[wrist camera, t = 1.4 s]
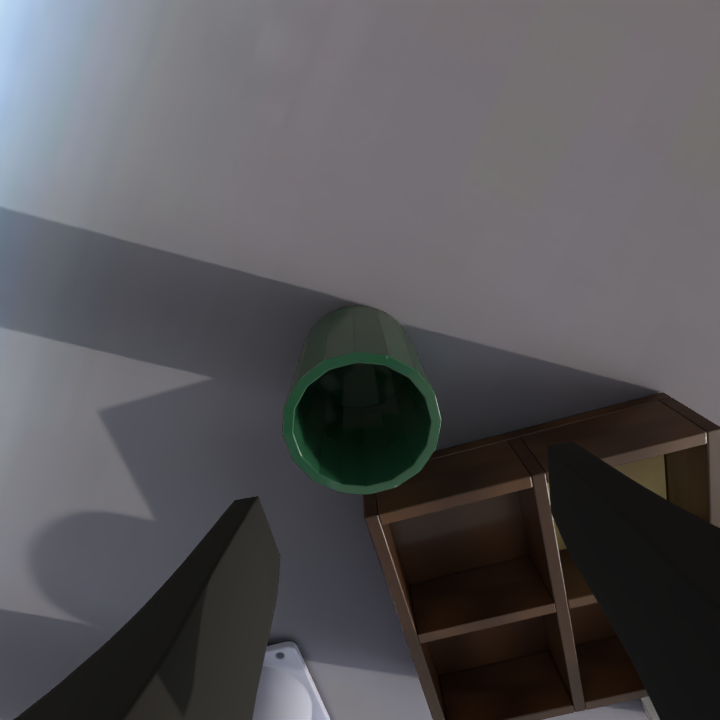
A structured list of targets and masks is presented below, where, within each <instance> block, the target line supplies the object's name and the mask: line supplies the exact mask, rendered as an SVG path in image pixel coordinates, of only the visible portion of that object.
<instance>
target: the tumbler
mask: <svg viewBox="0 0 720 720" xmlns="http://www.w3.org/2000/svg"><path fill="white" fill-rule="evenodd" d="M441 422H442V421H441V415H440V411H439V407H438V403H437V399H436V395H435V392H434V390H433V388H432V386H431V383H430V381H429V379H428V377H427V375H426V372H425V370H424V368H423V366H422V364H421V361H420V359H419V357H418V355H417V352H416V350H415V348H414V346H413V344H412V341H411V339H410V337H409V336H408V335H407V333H406V332H405V330H404V329H403V327H402V326H401V325H400V324H399V323H398V321H396V320H395V319H394V318H393V317H392V316H390V315H388V314H387V313H385V312H383V311H381V310H379V309H375V308H372V307H367V306H348V307H344V308H340V309H337V310H335V311H333V312H331V313H329V314H327V315H326V316H324V317H323V318H321V319H320V320H319V321H318V322H317V323H316V324H315V325H314V326H313V328H312V329H311V331H310V332H309V334H308V336H307V338H306V340H305V342H304V344H303V346H302V349H301V352H300V356H299V359H298V362H297V366H296V369H295V372H294V375H293V379H292V382H291V385H290V389H289V392H288V395H287V398H286V402H285V405H284V414H283V429H282V433H283V437H284V440H285V442H286V445H287V448H288V450H289V453H290V455H291V458H292V460H293V461H294V462H295V463H296V464H297V465H298V466H299V467H300V468H301V469H302V470H303V471H304V472H305V474H306V475H307V476H308V477H309V478H310V479H311V480H313V481H315V482H317V483H319V484H321V485H324V486H326V487H328V488H330V489H332V490H335V491H337V492H341V493H353V494H365V495H367V494H373V493H377V492H381V491H384V490H388V489H392V488H396V487H398V486H399V485H401V484H402V483H404V482H405V481H407V480H408V479H410V478H411V477H413V476H414V475H416V474H417V473H419V472H420V471H421V470H422V468H423V467H424V465H425V464H426V462H427V461H428V459H429V458H430V456H431V455H432V454H433V452H434V451H435V449H436V447H437V443H438V437H439V432H440V427H441Z"/></svg>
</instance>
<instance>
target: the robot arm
mask: <svg viewBox="0 0 720 720" xmlns="http://www.w3.org/2000/svg"><path fill="white" fill-rule="evenodd" d="M547 457H548V474H549V491H550V508H551V514H552V516H553V518H554V521H555V523H556V525H557V528H558V530H559V532H560V535H561V537H562V539H563V541H564V544H565V546H566V548H567V550H568V552H569V554H570V556H571V557H572V559H573V561H574V563H575V564H576V566H577V568H578V569H579V571H580V573H581V575H582V576H583V578H584V580H585V581H586V583H587V585H588V587H589V588H590V590H591V592H592V593H593V595H594V597H595V598H596V600H597V602H598V603H599V605H600V607H601V609H602V610H603V612H604V614H605V615H606V617H607V619H608V620H609V622H610V624H611V626H612V627H613V629H614V631H615V632H616V634H617V636H618V637H619V639H620V641H621V642H622V644H623V646H624V648H625V650H626V652H627V653H628V655H629V657H630V659H631V661H632V663H633V665H634V666H635V668H636V671H637V673H638V675H639V677H640V679H641V681H642V683H643V685H644V687H645V689H646V691H647V694H648V696H649V698H650V700H651V702H652V704H653V706H654V708H655V710H656V712H657V714H658V717H659V719H660V720H720V528H719V527H717V526H715V525H713V524H711V523H709V522H707V521H705V520H703V519H701V518H699V517H697V516H695V515H694V514H692V513H690V512H688V511H686V510H684V509H683V508H681V507H679V506H677V505H675V504H673V503H671V502H670V501H668V500H666V499H664V498H663V497H661V496H659V495H657V494H656V493H654V492H652V491H651V490H649V489H647V488H646V487H644V486H642V485H641V484H639V483H637V482H636V481H634V480H632V479H631V478H629V477H628V476H626V475H624V474H623V473H621V472H620V471H618V470H617V469H615V468H613V467H612V466H610V465H609V464H607V463H606V462H604V461H603V460H601V459H599V458H598V457H596V456H595V455H593V454H592V453H590V452H589V451H587V450H586V449H584V448H583V447H581V446H580V445H578V444H576V443H575V442H573V441H571V442H566V443H560V444H554V445H549V446H547ZM279 570H280V553H279V551H278V548H277V545H276V543H275V540H274V537H273V535H272V532H271V529H270V527H269V524H268V521H267V519H266V516H265V513H264V511H263V508H262V505H261V503H260V500H259V497H258V496H257V497H251V498H245V499H240V500H235V501H234V502H233V503H232V504H231V505H230V507H229V508H228V509H227V510H226V511H225V513H224V514H223V515H222V516H221V517H220V519H219V520H218V521H217V522H216V524H215V525H214V526H213V527H212V528H211V530H210V531H209V532H208V533H207V535H206V536H205V537H204V538H203V539H202V541H201V542H200V543H199V544H198V545H197V547H196V548H195V549H194V550H193V551H192V553H191V554H190V555H189V556H188V557H187V559H186V560H185V561H184V562H183V563H182V565H181V566H180V567H179V568H178V569H177V570H176V571H175V572H174V574H173V575H172V576H171V577H170V578H169V579H168V580H167V581H166V582H165V583H164V585H163V586H162V587H161V588H160V589H159V590H158V591H157V592H156V593H155V595H154V596H153V597H152V598H151V599H150V600H149V601H148V602H147V603H146V604H145V605H144V606H143V607H142V608H141V609H140V610H139V611H138V612H137V614H136V615H135V616H134V617H133V618H132V619H131V620H130V621H129V622H127V623H126V624H125V625H124V626H123V627H122V628H121V629H120V630H119V631H118V632H117V633H116V634H115V635H114V636H113V637H112V638H111V639H110V640H109V641H108V642H107V643H105V644H104V645H103V646H102V647H101V648H100V649H99V650H98V651H97V652H95V653H94V654H93V655H92V656H91V657H90V658H88V659H87V660H86V661H85V662H84V663H83V664H81V665H80V666H79V667H78V668H77V669H76V670H74V671H73V672H72V673H71V674H70V675H69V676H68V677H66V678H65V679H64V680H63V681H62V682H61V683H59V684H58V685H57V686H56V687H55V688H53V689H52V690H51V691H50V692H49V693H47V694H46V695H45V696H43V697H42V698H41V699H40V700H38V701H37V702H36V703H35V704H33V705H32V706H31V707H30V708H28V709H27V710H26V711H24V712H23V713H22V714H20V715H19V716H18V717H17V718H15V719H14V720H331V719H330V717H329V715H328V713H327V711H326V708H325V706H324V704H323V702H322V699H321V697H320V695H319V693H318V691H317V688H316V686H315V684H314V682H313V680H312V677H311V675H310V673H309V671H308V669H307V666H306V664H305V662H304V660H303V658H302V655H301V653H300V651H299V649H298V646H297V645H296V644H295V643H294V642H290V641H287V642H282V643H278V644H274V645H270V646H267V644H268V639H269V634H270V629H271V624H272V620H273V615H274V610H275V605H276V600H277V592H278V582H279Z"/></svg>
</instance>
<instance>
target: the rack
mask: <svg viewBox="0 0 720 720" xmlns="http://www.w3.org/2000/svg"><path fill="white" fill-rule="evenodd" d="M571 441H573V442H575V443H576V444H578V445H580V446H581V447H583V448H584V449H586V450H587V451H589V452H590V453H592V454H593V455H595V456H596V457H598V458H599V459H601V460H603V461H604V462H606V463H607V464H609V465H610V466H612V467H613V468H615V469H617V470H618V471H620V472H621V473H623V474H624V475H626V476H628V477H629V478H631V479H632V480H634V481H636V482H637V483H639V484H641V485H642V486H644V487H646V488H647V489H649V490H651V491H652V492H654V493H656V494H657V495H659V496H661V497H663V498H664V499H666V500H668V501H670V502H671V503H673V504H675V505H677V506H679V507H681V508H683V509H684V510H686V511H688V512H690V513H692V514H694V515H695V516H697V517H699V518H701V519H703V520H705V521H707V522H709V523H711V524H713V525H715V526H717V527H719V528H720V427H719V426H717V425H716V424H714V423H713V422H711V421H709V420H708V419H706V418H704V417H703V416H701V415H699V414H698V413H696V412H695V411H693V410H691V409H690V408H688V407H686V406H685V405H683V404H681V403H680V402H678V401H677V400H675V399H673V398H671V397H670V396H668V395H667V394H665V393H659V394H655V395H651V396H648V397H644V398H640V399H636V400H632V401H628V402H625V403H621V404H617V405H613V406H609V407H605V408H601V409H598V410H594V411H590V412H586V413H582V414H578V415H575V416H571V417H567V418H563V419H559V420H555V421H552V422H548V423H544V424H540V425H536V426H532V427H528V428H525V429H521V430H517V431H513V432H509V433H505V434H502V435H498V436H494V437H490V438H486V439H482V440H478V441H475V442H471V443H467V444H463V445H459V446H455V447H452V448H448V449H444V450H440V451H436V452H433V454H432V455H431V456H430V458H429V459H428V461H427V462H426V464H425V465H424V467H423V468H422V470H421V471H420V472H419V473H417V474H416V475H414V476H413V477H411V478H410V479H408V480H407V481H405V482H404V483H402V484H401V485H399V486H398V487H396V488H392V489H388V490H384V491H381V492H377V493H373V494H367V495H365V494H363V500H364V519H365V521H366V524H367V527H368V530H369V533H370V536H371V539H372V542H373V545H374V548H375V551H376V554H377V557H378V560H379V563H380V566H381V568H382V571H383V574H384V577H385V580H386V583H387V586H388V589H389V592H390V595H391V598H392V601H393V604H394V607H395V610H396V612H397V615H398V618H399V621H400V624H401V627H402V630H403V633H404V636H405V639H406V642H407V645H408V648H409V651H410V654H411V657H412V659H413V662H414V665H415V668H416V671H417V674H418V677H419V680H420V683H421V686H422V689H423V692H424V695H425V698H426V701H427V703H428V706H429V709H430V712H431V715H432V718H433V720H541V719H546V718H551V717H555V716H560V715H565V714H569V713H573V712H574V711H575V712H578V711H583V710H586V709H587V710H588V709H593V708H597V707H602V706H607V705H611V704H616V703H621V702H625V701H630V700H634V699H639V698H644V697H648V694H647V691H646V689H645V687H644V685H643V683H642V681H641V679H640V677H639V675H638V673H637V671H636V668H635V666H634V665H633V663H632V661H631V659H630V657H629V655H628V653H627V652H626V650H625V648H624V646H623V644H622V642H621V641H620V639H619V637H618V636H617V634H616V632H615V631H614V629H613V627H612V626H611V624H610V622H609V620H608V619H607V617H606V615H605V614H604V612H603V610H602V609H601V607H600V605H599V603H598V602H597V600H596V598H595V597H594V595H593V593H592V592H591V590H590V588H589V587H588V585H587V583H586V581H585V580H584V578H583V576H582V575H581V573H580V571H579V569H578V568H577V566H576V564H575V563H574V561H573V559H572V557H571V556H570V554H569V552H568V550H567V548H566V546H565V544H564V541H563V539H562V537H561V535H560V532H559V530H558V528H557V525H556V523H555V521H554V518H553V516H552V514H551V508H550V491H549V474H548V457H547V446H549V445H554V444H560V443H566V442H571Z"/></svg>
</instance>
